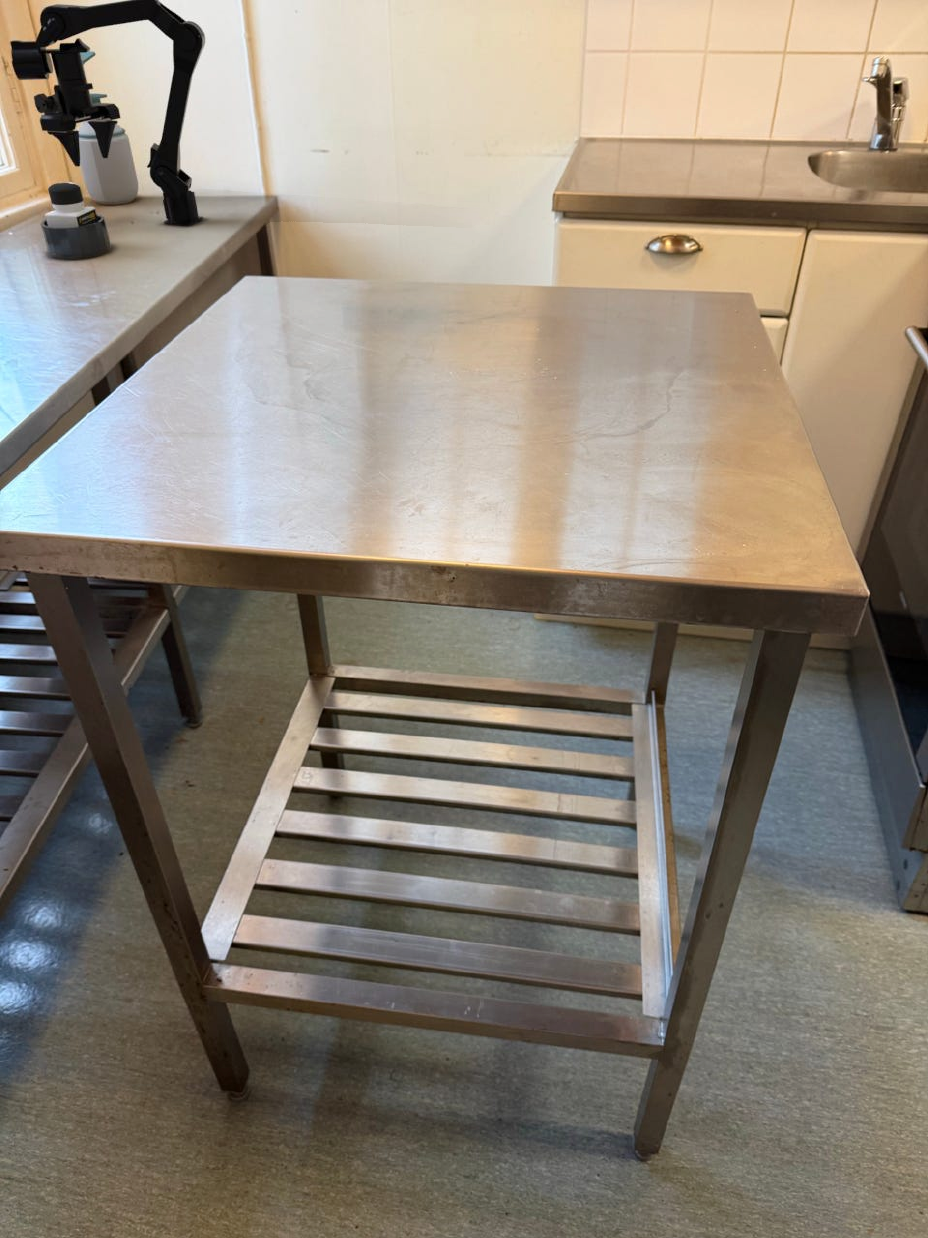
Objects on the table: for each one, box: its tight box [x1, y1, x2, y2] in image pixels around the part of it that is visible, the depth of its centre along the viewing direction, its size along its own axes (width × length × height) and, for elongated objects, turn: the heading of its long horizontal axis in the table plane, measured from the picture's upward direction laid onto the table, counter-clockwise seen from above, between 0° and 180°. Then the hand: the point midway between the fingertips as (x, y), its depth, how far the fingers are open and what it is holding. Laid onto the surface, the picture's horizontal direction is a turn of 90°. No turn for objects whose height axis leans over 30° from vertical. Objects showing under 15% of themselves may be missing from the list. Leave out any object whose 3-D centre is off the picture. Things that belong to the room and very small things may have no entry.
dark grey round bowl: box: [40, 213, 112, 261], centre depth 183 cm, size 12×12×6 cm
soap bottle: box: [76, 50, 139, 206], centre depth 211 cm, size 12×12×31 cm
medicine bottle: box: [44, 181, 98, 228], centre depth 181 cm, size 7×7×12 cm
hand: (91, 161), depth 194 cm, fingers open, 9 cm apart
